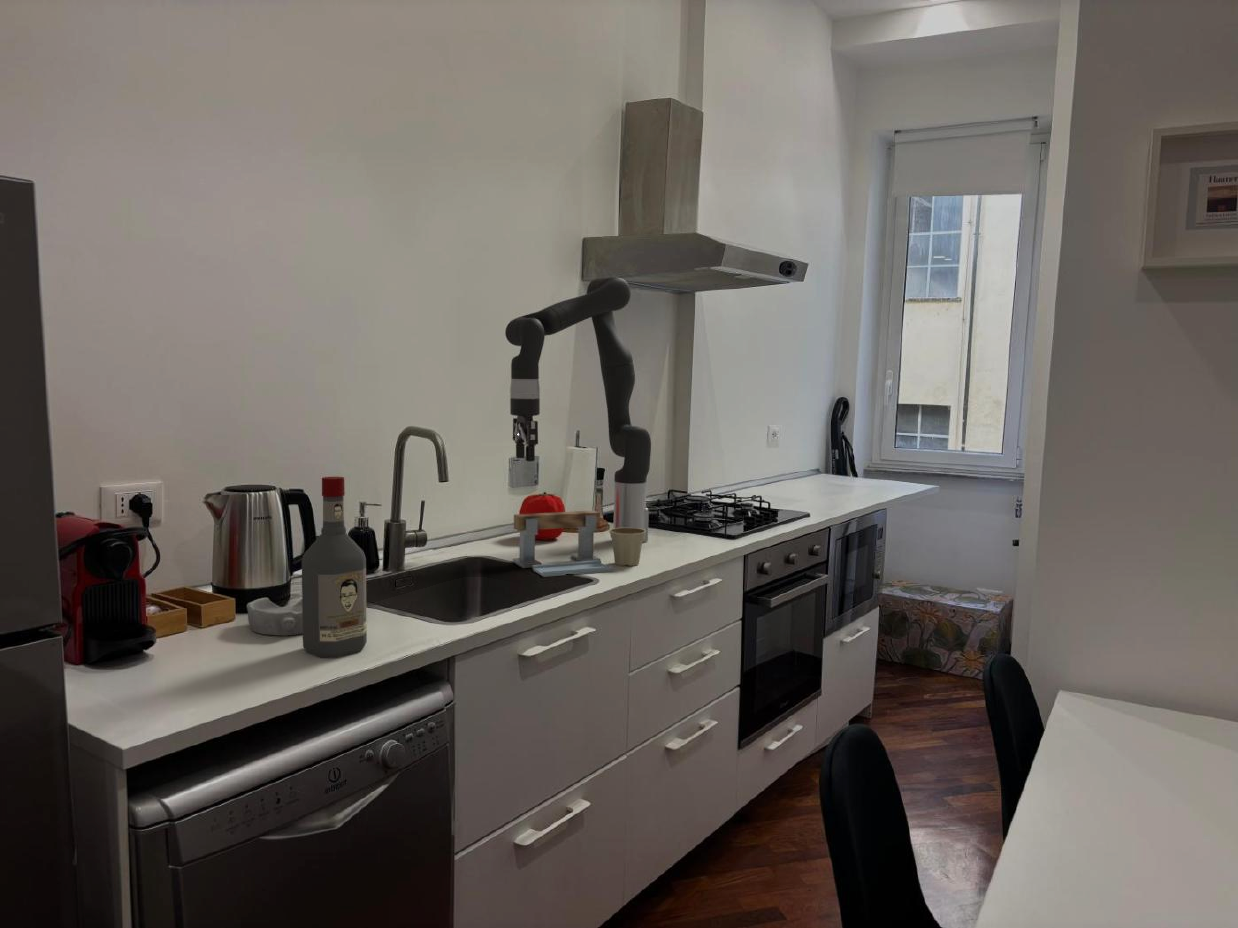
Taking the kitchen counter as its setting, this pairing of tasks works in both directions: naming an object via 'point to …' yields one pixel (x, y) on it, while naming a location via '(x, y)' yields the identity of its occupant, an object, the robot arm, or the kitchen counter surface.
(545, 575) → the mat
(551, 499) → the tomato
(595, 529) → the rack
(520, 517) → the rail
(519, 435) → the robot arm
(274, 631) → the dish
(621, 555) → the flower pot
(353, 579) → the liquor
